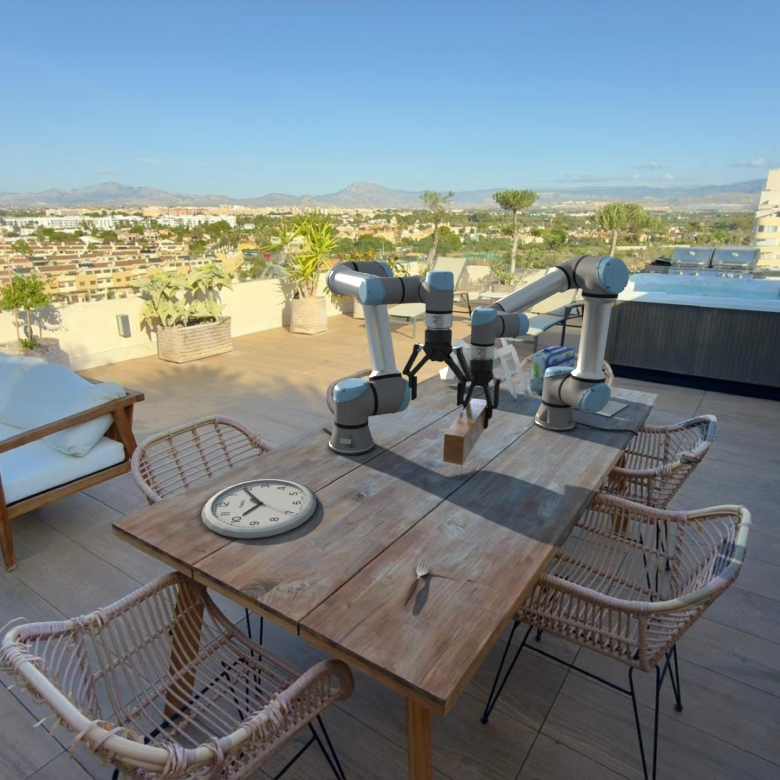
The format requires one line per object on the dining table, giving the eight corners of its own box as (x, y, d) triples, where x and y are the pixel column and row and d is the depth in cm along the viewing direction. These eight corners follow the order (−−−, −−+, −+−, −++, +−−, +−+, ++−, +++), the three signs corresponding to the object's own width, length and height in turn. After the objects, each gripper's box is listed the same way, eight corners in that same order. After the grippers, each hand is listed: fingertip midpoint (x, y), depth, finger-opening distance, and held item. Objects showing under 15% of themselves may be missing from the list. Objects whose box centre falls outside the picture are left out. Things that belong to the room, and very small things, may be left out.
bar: (471, 421, 177) (472, 398, 175) (487, 424, 175) (489, 400, 173) (443, 461, 147) (444, 433, 144) (462, 465, 145) (464, 436, 143)
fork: (398, 606, 105) (398, 598, 104) (421, 561, 119) (421, 553, 119) (410, 610, 104) (410, 601, 103) (432, 564, 118) (432, 556, 118)
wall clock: (313, 530, 128) (186, 534, 125) (313, 536, 128) (187, 540, 125) (318, 474, 156) (215, 477, 154) (318, 479, 157) (216, 482, 154)
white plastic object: (461, 429, 252) (437, 405, 227) (444, 352, 274) (420, 323, 250) (535, 404, 240) (518, 377, 215) (510, 326, 262) (492, 293, 237)
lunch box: (546, 399, 235) (551, 353, 228) (525, 393, 242) (530, 349, 236) (574, 387, 252) (579, 345, 246) (553, 383, 260) (558, 341, 253)
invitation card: (608, 416, 214) (573, 407, 224) (608, 416, 214) (573, 408, 224) (628, 404, 229) (594, 396, 238) (628, 405, 229) (594, 397, 238)
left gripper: (391, 327, 146) (391, 399, 151) (479, 333, 136) (475, 410, 142) (401, 323, 152) (400, 393, 158) (486, 329, 143) (482, 403, 149)
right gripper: (449, 357, 165) (446, 425, 172) (509, 363, 159) (502, 434, 166) (455, 352, 172) (452, 418, 179) (513, 358, 165) (507, 426, 172)
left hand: (436, 401), depth 150 cm, fingers open, 13 cm apart
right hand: (476, 425), depth 172 cm, fingers closed on bar, 6 cm apart
